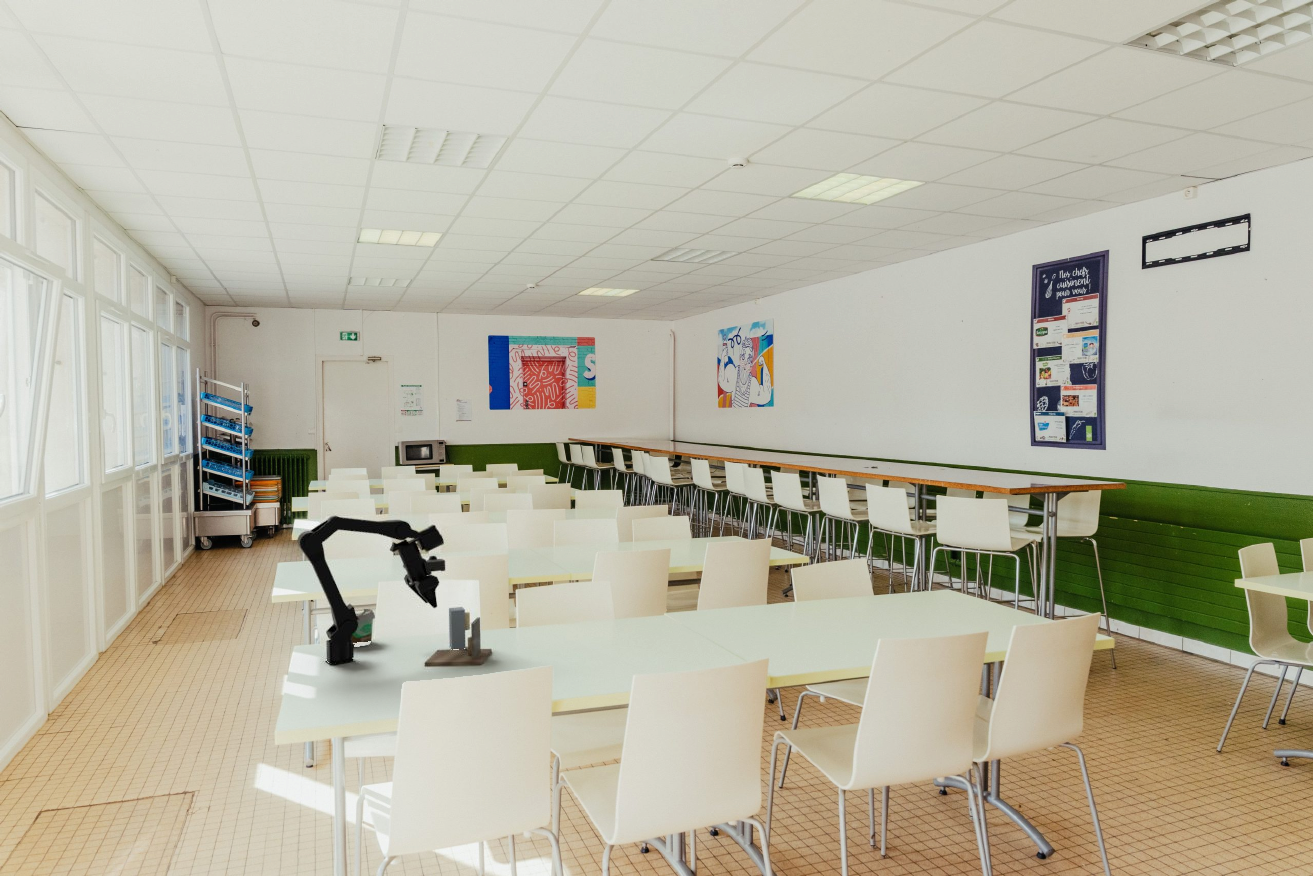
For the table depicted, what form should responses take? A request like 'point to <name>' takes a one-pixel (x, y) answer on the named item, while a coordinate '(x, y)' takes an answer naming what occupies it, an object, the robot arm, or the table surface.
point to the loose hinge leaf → (458, 627)
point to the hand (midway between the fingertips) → (431, 605)
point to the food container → (364, 627)
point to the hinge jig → (462, 651)
